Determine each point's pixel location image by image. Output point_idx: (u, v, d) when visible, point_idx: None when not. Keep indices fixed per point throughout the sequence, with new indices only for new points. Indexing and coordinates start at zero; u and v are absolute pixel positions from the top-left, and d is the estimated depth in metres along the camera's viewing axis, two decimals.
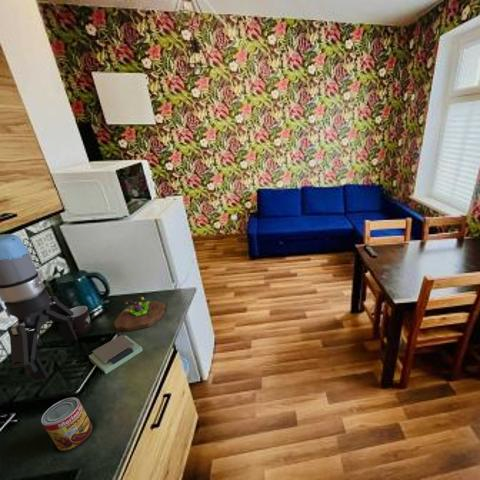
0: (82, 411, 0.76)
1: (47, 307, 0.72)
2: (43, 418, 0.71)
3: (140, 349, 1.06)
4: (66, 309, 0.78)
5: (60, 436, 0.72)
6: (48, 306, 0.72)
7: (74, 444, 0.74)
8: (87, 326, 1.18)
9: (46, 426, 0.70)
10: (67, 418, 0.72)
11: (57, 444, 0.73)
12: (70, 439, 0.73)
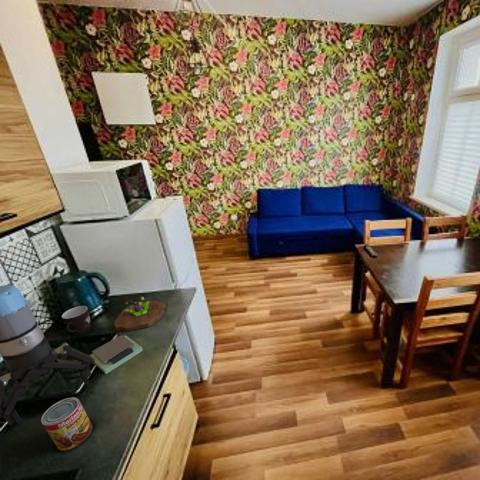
0: (82, 411, 0.76)
1: (51, 358, 0.68)
2: (43, 418, 0.71)
3: (140, 349, 1.06)
4: (83, 357, 0.74)
5: (60, 436, 0.72)
6: (53, 357, 0.69)
7: (74, 444, 0.74)
8: (87, 326, 1.18)
9: (46, 426, 0.70)
10: (67, 418, 0.72)
11: (57, 444, 0.73)
12: (70, 439, 0.73)
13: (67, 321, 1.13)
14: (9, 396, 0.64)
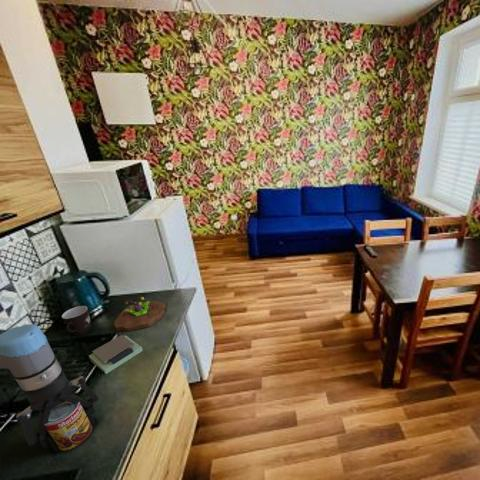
0: (82, 411, 0.76)
1: (67, 389, 0.73)
2: None
3: (140, 349, 1.06)
4: (91, 394, 0.78)
5: (60, 436, 0.72)
6: (69, 388, 0.73)
7: (74, 444, 0.74)
8: (87, 326, 1.18)
9: (46, 426, 0.70)
10: (67, 418, 0.72)
11: (57, 444, 0.73)
12: (70, 439, 0.73)
13: (67, 321, 1.13)
14: (39, 424, 0.70)
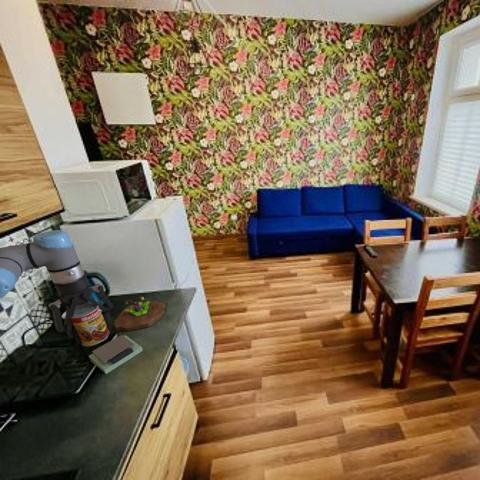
0: (100, 313, 0.91)
1: (88, 291, 0.87)
2: None
3: (140, 349, 1.06)
4: (107, 301, 0.93)
5: (83, 330, 0.87)
6: (90, 291, 0.88)
7: (94, 339, 0.89)
8: None
9: (72, 319, 0.85)
10: (89, 314, 0.86)
11: (80, 337, 0.88)
12: (91, 334, 0.88)
13: None
14: (66, 317, 0.85)
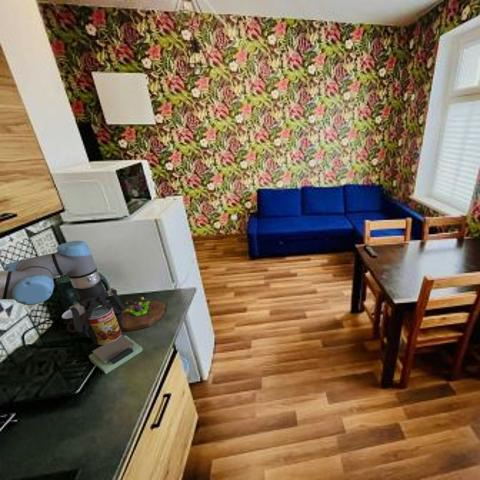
0: (114, 315, 1.00)
1: (104, 295, 0.97)
2: None
3: (140, 349, 1.06)
4: (120, 303, 1.02)
5: (99, 330, 0.96)
6: (105, 294, 0.97)
7: (109, 338, 0.99)
8: None
9: (89, 320, 0.94)
10: (104, 316, 0.96)
11: (96, 337, 0.97)
12: (106, 334, 0.98)
13: (67, 321, 1.13)
14: (84, 318, 0.94)
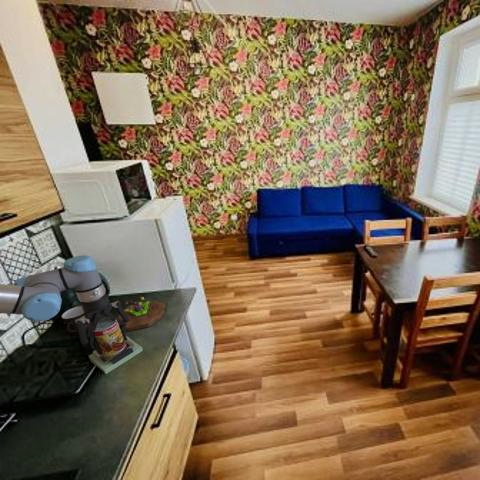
0: (118, 327, 1.02)
1: (108, 307, 0.99)
2: None
3: (140, 349, 1.06)
4: (124, 315, 1.04)
5: (104, 342, 0.98)
6: (110, 307, 0.99)
7: (113, 350, 1.01)
8: (87, 326, 1.18)
9: (94, 332, 0.96)
10: (109, 328, 0.98)
11: (101, 348, 0.99)
12: (111, 345, 1.00)
13: (67, 321, 1.13)
14: (89, 331, 0.96)
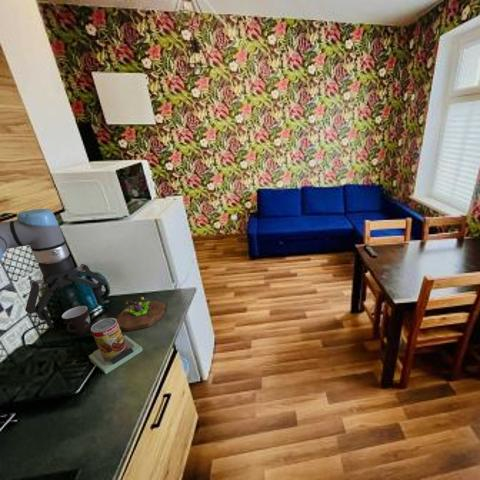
0: (119, 327, 1.02)
1: (73, 273, 0.87)
2: (92, 328, 0.98)
3: (140, 349, 1.06)
4: (97, 278, 0.93)
5: (104, 342, 0.98)
6: (75, 272, 0.87)
7: (113, 350, 1.01)
8: (87, 326, 1.18)
9: (95, 333, 0.96)
10: (109, 329, 0.98)
11: (101, 349, 0.99)
12: (111, 346, 1.00)
13: (67, 321, 1.13)
14: (41, 298, 0.82)
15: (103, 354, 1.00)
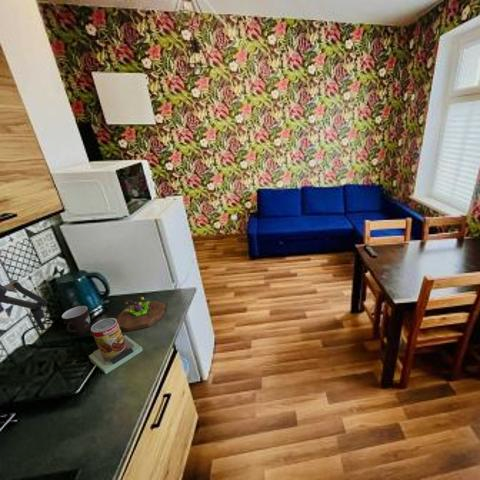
0: (119, 327, 1.02)
1: None
2: (92, 328, 0.98)
3: (140, 349, 1.06)
4: (35, 297, 0.76)
5: (104, 342, 0.98)
6: (2, 292, 0.70)
7: (113, 350, 1.01)
8: (87, 326, 1.18)
9: (95, 333, 0.96)
10: (109, 329, 0.98)
11: (101, 349, 0.99)
12: (111, 346, 1.00)
13: (67, 321, 1.13)
14: None
15: (103, 354, 1.00)
